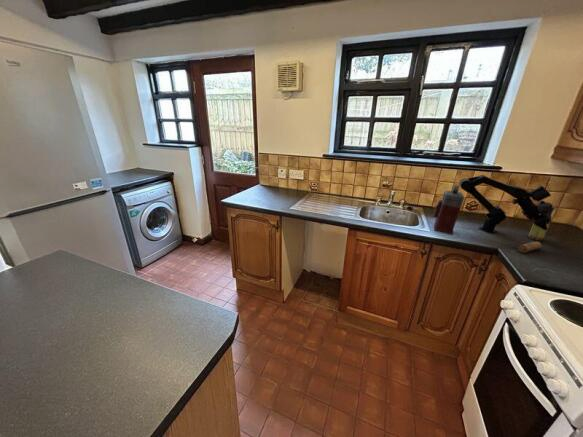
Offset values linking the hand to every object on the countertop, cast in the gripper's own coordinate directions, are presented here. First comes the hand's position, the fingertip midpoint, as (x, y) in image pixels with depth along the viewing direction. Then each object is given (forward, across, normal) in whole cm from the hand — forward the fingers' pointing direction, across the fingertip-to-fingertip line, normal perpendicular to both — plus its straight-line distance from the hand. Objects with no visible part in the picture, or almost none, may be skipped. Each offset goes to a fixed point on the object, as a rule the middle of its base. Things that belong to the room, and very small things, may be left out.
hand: (543, 227), depth 137 cm
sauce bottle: (+4, 0, +6) cm, 8 cm away
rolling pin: (-2, -19, +13) cm, 23 cm away
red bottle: (-30, -13, +42) cm, 53 cm away
